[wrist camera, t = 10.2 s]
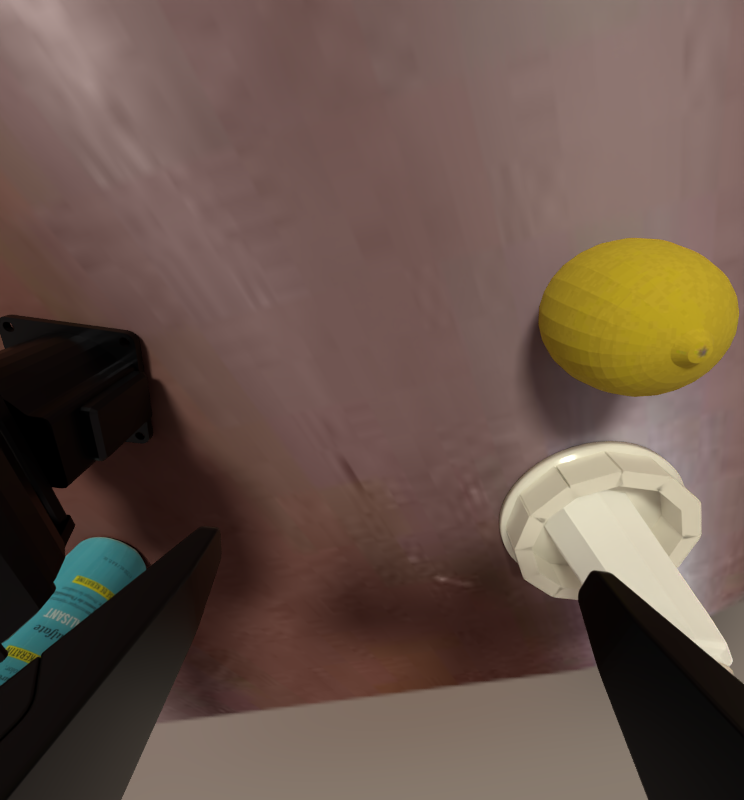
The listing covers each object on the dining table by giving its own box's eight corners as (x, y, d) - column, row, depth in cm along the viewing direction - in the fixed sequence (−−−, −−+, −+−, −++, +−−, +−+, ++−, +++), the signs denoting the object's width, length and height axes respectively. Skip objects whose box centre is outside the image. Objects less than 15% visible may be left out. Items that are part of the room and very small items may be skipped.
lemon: (619, 346, 19) (765, 429, 12) (508, 353, 19) (586, 439, 12) (647, 226, 17) (852, 240, 9) (519, 237, 17) (625, 258, 10)
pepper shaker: (542, 554, 25) (650, 778, 15) (544, 491, 23) (674, 709, 13) (628, 544, 24) (796, 769, 15) (639, 479, 22) (850, 696, 12)
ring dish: (479, 563, 26) (488, 594, 24) (531, 429, 21) (548, 454, 19) (629, 579, 27) (651, 611, 25) (713, 453, 22) (750, 480, 20)
